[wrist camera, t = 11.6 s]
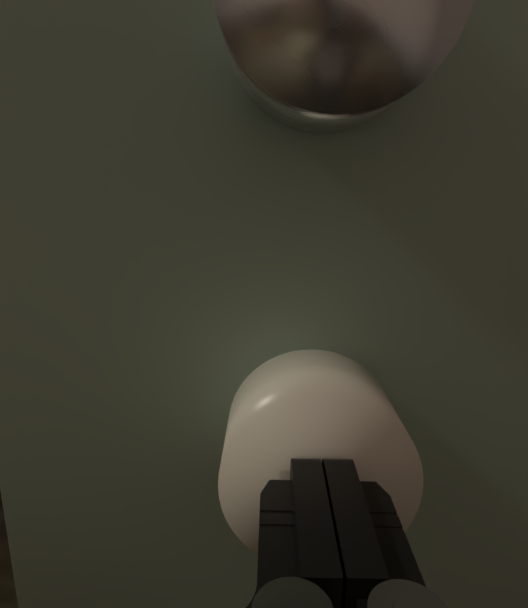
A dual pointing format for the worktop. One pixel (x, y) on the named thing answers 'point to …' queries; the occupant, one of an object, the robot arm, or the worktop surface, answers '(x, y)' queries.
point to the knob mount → (247, 296)
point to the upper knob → (336, 54)
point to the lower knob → (312, 434)
